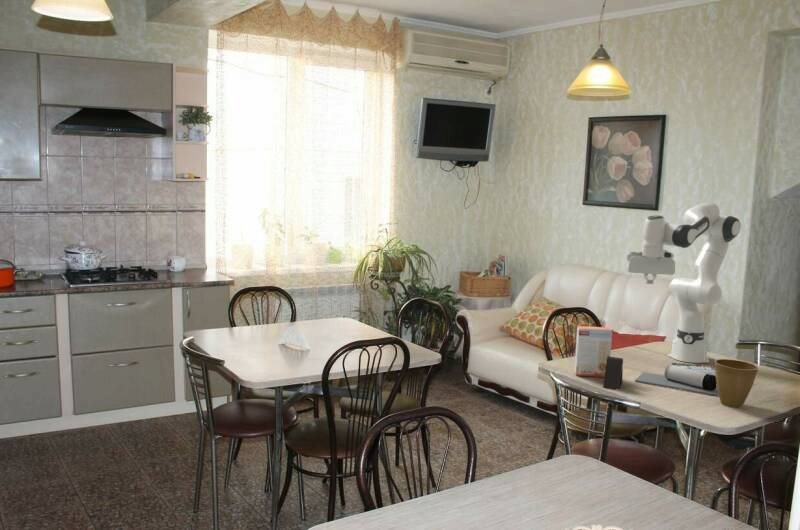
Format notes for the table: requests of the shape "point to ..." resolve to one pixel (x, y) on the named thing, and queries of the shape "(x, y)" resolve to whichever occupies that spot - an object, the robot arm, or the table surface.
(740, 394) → the plant pot
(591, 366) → the cracker box
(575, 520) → the table surface
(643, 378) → the rubber mat
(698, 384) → the travel mug
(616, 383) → the door stopper
